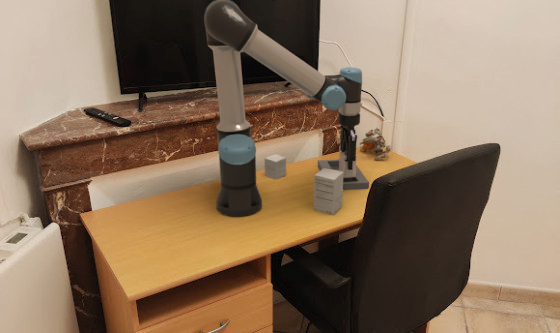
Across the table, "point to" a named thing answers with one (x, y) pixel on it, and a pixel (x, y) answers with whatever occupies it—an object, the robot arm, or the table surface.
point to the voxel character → (375, 143)
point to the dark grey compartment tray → (348, 183)
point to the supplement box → (328, 190)
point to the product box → (275, 166)
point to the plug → (342, 164)
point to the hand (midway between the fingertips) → (346, 173)
